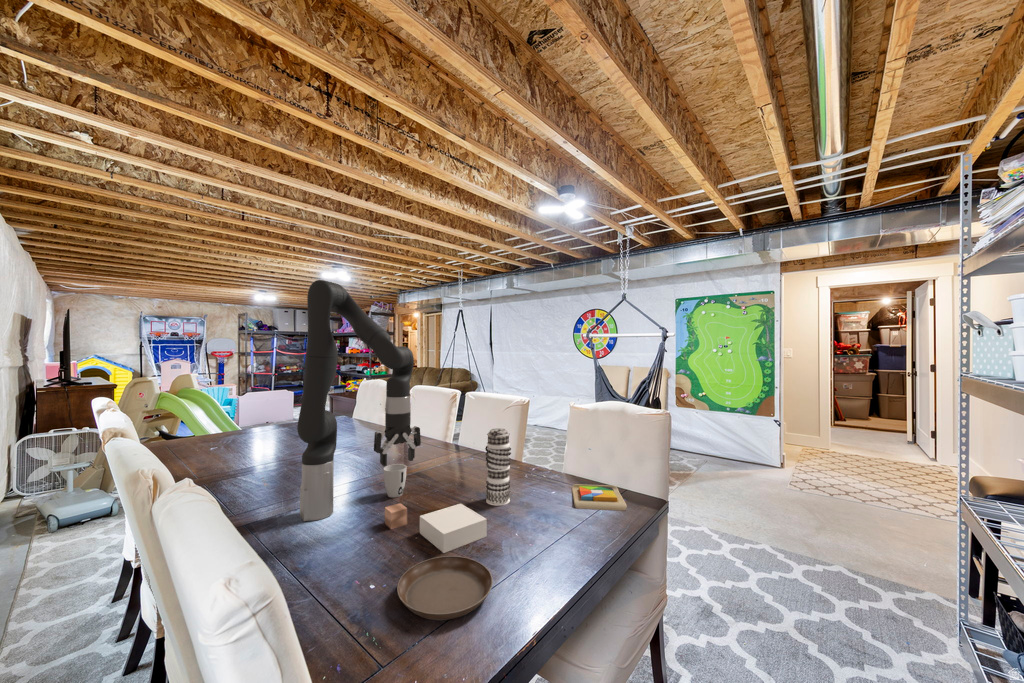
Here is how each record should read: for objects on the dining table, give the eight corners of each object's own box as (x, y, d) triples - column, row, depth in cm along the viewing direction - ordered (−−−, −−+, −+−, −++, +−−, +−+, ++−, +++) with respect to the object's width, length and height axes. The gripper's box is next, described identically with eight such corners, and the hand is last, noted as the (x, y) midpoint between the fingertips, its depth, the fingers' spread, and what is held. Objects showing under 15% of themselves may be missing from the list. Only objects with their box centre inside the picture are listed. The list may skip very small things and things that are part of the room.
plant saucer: (493, 567, 96) (493, 554, 96) (491, 628, 75) (491, 611, 75) (409, 568, 95) (409, 555, 95) (384, 631, 75) (385, 613, 75)
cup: (402, 499, 137) (402, 471, 137) (380, 499, 137) (380, 471, 137) (409, 490, 145) (409, 464, 145) (387, 490, 145) (388, 463, 145)
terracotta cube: (391, 529, 115) (391, 512, 115) (384, 523, 119) (384, 507, 119) (407, 524, 118) (407, 508, 118) (400, 518, 122) (400, 503, 122)
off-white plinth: (443, 553, 102) (443, 534, 102) (419, 533, 113) (419, 515, 113) (486, 536, 111) (486, 519, 111) (460, 519, 122) (460, 503, 122)
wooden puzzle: (617, 491, 147) (617, 481, 147) (627, 512, 128) (627, 502, 128) (571, 489, 149) (571, 480, 149) (574, 510, 130) (574, 499, 130)
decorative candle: (488, 507, 131) (488, 433, 131) (482, 497, 140) (483, 427, 140) (513, 504, 133) (514, 432, 133) (507, 494, 142) (507, 426, 142)
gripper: (380, 415, 112) (379, 470, 112) (424, 409, 121) (424, 461, 121) (370, 411, 118) (370, 464, 118) (414, 406, 127) (413, 456, 127)
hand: (397, 463), depth 120 cm, fingers open, 8 cm apart
